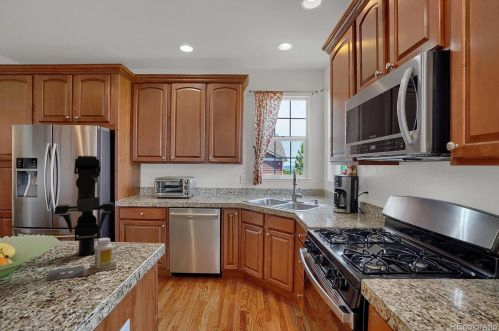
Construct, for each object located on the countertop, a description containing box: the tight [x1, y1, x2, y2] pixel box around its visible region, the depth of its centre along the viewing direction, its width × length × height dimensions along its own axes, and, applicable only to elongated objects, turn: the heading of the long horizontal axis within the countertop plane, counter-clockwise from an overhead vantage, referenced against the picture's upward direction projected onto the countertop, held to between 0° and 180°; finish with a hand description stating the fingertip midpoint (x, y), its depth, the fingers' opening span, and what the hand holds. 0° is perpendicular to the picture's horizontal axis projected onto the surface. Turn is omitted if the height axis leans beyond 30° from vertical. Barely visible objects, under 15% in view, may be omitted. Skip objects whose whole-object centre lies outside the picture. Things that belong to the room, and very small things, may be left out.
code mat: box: [45, 265, 85, 282], centre depth 91 cm, size 10×10×1 cm
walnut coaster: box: [89, 260, 117, 273], centre depth 98 cm, size 8×8×1 cm
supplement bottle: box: [94, 237, 113, 268], centre depth 98 cm, size 5×5×10 cm
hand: (85, 231), depth 101 cm, fingers open, 9 cm apart
